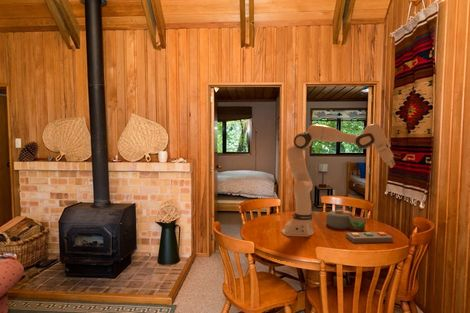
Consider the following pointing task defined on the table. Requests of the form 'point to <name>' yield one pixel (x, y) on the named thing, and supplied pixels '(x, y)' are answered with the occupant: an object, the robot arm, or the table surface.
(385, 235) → the orange button
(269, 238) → the table surface
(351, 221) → the food container
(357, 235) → the cream button
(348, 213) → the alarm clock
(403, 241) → the table surface
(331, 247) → the table surface
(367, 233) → the olive green button
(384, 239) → the button board
